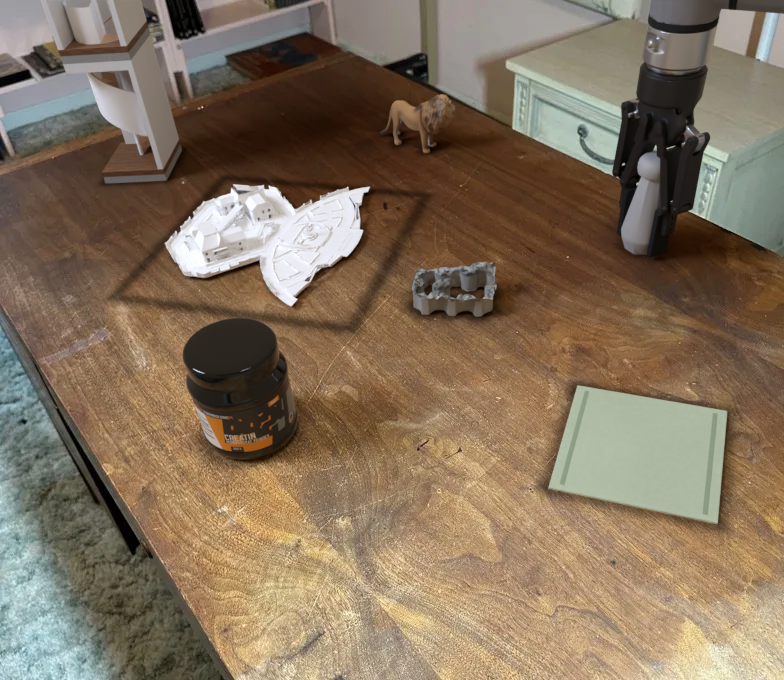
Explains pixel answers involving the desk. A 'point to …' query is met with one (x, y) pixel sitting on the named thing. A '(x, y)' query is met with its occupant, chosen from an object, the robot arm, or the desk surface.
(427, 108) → the lion figurine
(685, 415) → the napkin
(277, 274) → the architectural model
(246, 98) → the desk surface
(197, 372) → the supplement container
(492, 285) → the egg carton
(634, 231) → the salt shaker
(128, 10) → the tiered tower model
